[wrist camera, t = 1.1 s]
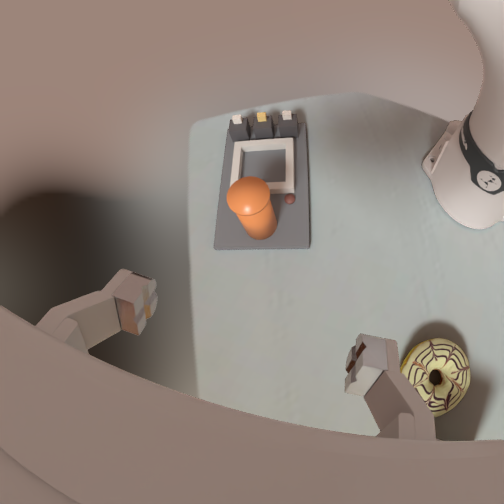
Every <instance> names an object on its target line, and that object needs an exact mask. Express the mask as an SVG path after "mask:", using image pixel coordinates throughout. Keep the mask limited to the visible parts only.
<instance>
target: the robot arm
mask: <svg viewBox="0 0 504 504" xmlns="http://www.w3.org/2000/svg"><path fill="white" fill-rule="evenodd" d="M448 1H449V3H450V5H451V7H452V8H453V10H454V12H455V13H456V15H457V16H458V17H459V18H460V20H461V21H462V22H463V23H464V25H465V26H466V27H467V28H468V30H469V32H470V33H471V34H472V36H473V38H474V40H475V42H476V44H477V46H478V49H479V51H480V55H481V58H482V63H483V81H482V86H481V90H480V93H479V96H478V99H477V102H476V105H475V107H474V110H473V111H472V112H470V113H469V114H468V115H466V116H465V118H464V119H463V121H457V120H454V121H450V123H449V125H448V127H447V129H446V131H445V132H444V134H443V135H442V137H441V138H440V139H439V141H438V142H437V143H436V145H435V146H434V147H433V149H432V150H431V151H430V153H429V154H428V155H427V157H426V158H425V159H424V161H423V163H422V168H423V170H424V171H425V173H426V174H427V176H428V177H429V178H430V180H431V182H432V186H433V189H434V193H435V195H436V197H437V199H438V201H439V203H440V205H441V206H442V208H443V209H444V210H445V211H446V212H447V213H448V214H449V215H450V216H451V217H452V218H453V219H454V220H456V221H457V222H458V223H460V224H462V225H464V226H466V227H469V228H473V229H485V228H489V227H491V226H492V225H494V224H495V223H497V222H499V221H504V0H448ZM431 161H433V162H431ZM155 288H156V280H154V279H152V278H149V277H146V276H144V275H141V274H138V273H135V272H131V271H128V270H125V269H121V270H120V271H118V273H117V274H116V275H115V276H114V277H113V278H112V279H111V281H110V282H109V283H108V284H107V285H106V286H105V287H104V289H102V291H101V292H100V291H96V292H93V293H91V294H88V295H85V296H82V297H80V298H77V299H74V300H72V301H69V302H67V303H64V304H61V305H59V306H56V307H53V308H51V309H50V311H49V312H48V313H47V314H46V315H45V316H44V317H43V318H42V320H41V321H40V322H39V323H38V324H37V325H36V326H34V325H32V324H30V323H29V322H27V321H25V320H23V319H22V318H20V317H18V316H17V315H15V314H13V313H12V312H10V311H9V310H7V309H6V308H4V307H2V306H1V305H0V504H504V440H477V441H436V434H435V422H434V415H433V413H432V412H431V410H430V409H429V408H428V406H427V405H426V403H425V402H424V401H423V399H422V398H421V397H420V395H419V394H418V392H417V391H416V390H415V388H414V387H413V386H412V384H411V383H410V381H409V380H408V379H407V377H406V376H405V375H404V374H403V373H400V364H399V355H398V347H397V342H396V340H391V339H386V338H381V337H376V336H371V335H366V334H359V335H358V337H357V339H356V345H355V346H353V347H352V348H351V350H350V352H349V354H348V357H347V361H346V371H347V373H348V375H347V377H346V378H345V393H349V394H354V395H359V396H364V399H365V401H366V403H367V405H368V407H369V409H370V411H371V413H372V415H373V417H374V419H375V421H376V423H377V425H378V427H379V429H380V431H381V432H380V433H379V434H378V435H377V436H375V437H374V436H365V435H357V434H350V433H343V432H336V431H330V430H324V429H318V428H313V427H307V426H302V425H297V424H292V423H288V422H283V421H279V420H274V419H270V418H266V417H262V416H258V415H254V414H250V413H246V412H242V411H239V410H235V409H231V408H228V407H225V406H221V405H218V404H214V403H211V402H208V401H205V400H202V399H199V398H196V397H192V396H190V395H186V394H184V393H181V392H178V391H175V390H172V389H170V388H167V387H164V386H161V385H159V384H156V383H154V382H151V381H148V380H146V379H143V378H141V377H138V376H136V375H133V374H131V373H129V372H126V371H124V370H122V369H119V368H117V367H115V366H112V365H110V364H108V363H106V362H104V361H101V360H99V359H97V358H95V357H93V356H91V355H89V353H88V350H87V349H89V348H91V347H92V346H94V345H96V344H98V343H100V342H101V341H103V340H105V339H106V338H108V337H110V336H112V335H113V334H115V333H117V332H119V331H120V330H121V329H122V330H125V331H128V332H130V333H133V334H136V335H140V333H141V332H142V330H143V329H144V327H145V326H146V319H147V318H150V317H151V316H152V314H153V313H154V311H155V309H156V306H157V295H156V293H155V292H154V290H155Z"/></svg>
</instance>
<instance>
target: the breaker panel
mask: <svg viewBox="0 0 504 504" xmlns="http://www.w3.org/2000/svg"><path fill="white" fill-rule="evenodd" d="M248 176H253V177H258V178H260V179H262V180H263V181H265V182H266V184H267V185H268V187H269V190H270V201H271V204H272V207H273V210H274V214H275V217H276V220H277V228H276V230H275V232H274V233H273V235H271V236H270V237H269V238H267V239H263V240H256V239H253V238H251V237H250V236H249V235H248V234H247V232H246V231H245V229H244V227H243V225H242V223H241V222H240V220H239V218H238V216H237V215H236V213H234V212H233V211H232V210H231V209H230V207H229V206H228V203H227V192H228V190H229V188H230V186H231V185H232V184H233V183H234V182H235V181H237V180H239V179H241V178H243V177H248ZM214 249H215V250H244V249H309V195H308V166H307V143H306V126H305V123H298V122H297V115H296V114H291V110H290V111H282V115H279V123H278V124H277V125H274V124H273V120H272V116H266V112H263V113H257V117H254V124H253V126H251V127H250V125H249V122H248V119H247V118H242V116H241V115H233V118H232V120H230V124H229V129H228V130H227V138H226V145H225V153H224V161H223V169H222V177H221V185H220V194H219V202H218V211H217V220H216V230H215V239H214Z"/></svg>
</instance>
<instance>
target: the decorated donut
mask: <svg viewBox="0 0 504 504" xmlns="http://www.w3.org/2000/svg"><path fill="white" fill-rule="evenodd" d="M432 370H438V371H439V373H440V375H441V380H440V382H439V384H438V385H435V386H434V385H433V384H432V383H430V381H429V375H430V372H431V371H432ZM400 373H403V374H404V375H405V376H406V377H407V379H408V380H409V381H410V383H411V384H412V386H413V387H414V388H415V390H416V391H417V392H418V394H419V395H420V397H421V398H422V399H423V401H424V402H425V403H426V405H427V406H428V408H429V409H430V410H431V412H432V413H433V415H434V417H438V416H441V415H443V414H445V413H447V412H448V411H450V410H451V409H453V408H454V407H455V406H456V405H457V404H458V403H459V402H460V401H461V399H462V398H463V397H464V395H465V393H466V392H467V389H468V387H469V385H470V367H469V362H468V359H467V357H466V355H465V353H464V352H463V351H462V349H461V348H460V347H459V346H458V345H457V344H455V343H453V342H451V341H450V340H447V339H442V338H434V339H430V340H426V341H424V342H422V343H419V344H418V345H416V346H415V347H414V348H412V350H411V351H410V352H409V353H408V355H407V357H406V358H405V359H404V361H403V364H402V366H401V367H400Z"/></svg>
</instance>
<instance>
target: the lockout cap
mask: <svg viewBox="0 0 504 504" xmlns="http://www.w3.org/2000/svg"><path fill="white" fill-rule="evenodd" d="M227 203H228V206H229V207H230V209H231V210H232V211H233V212H234V213H236V215H237V216H238V218H239V220H240V222H241V223H242V225H243V227H244V229H245V231H246V232H247V234H248V235H249V236H250V237H251V238H253V239H256V240H263V239H267V238H269V237H270V236H271V235H273V233H274V232H275V230H276V228H277V220H276V217H275V214H274V210H273V207H272V204H271V201H270V190H269V187H268V185H267V184H266V182H265V181H263V180H262V179H260V178H258V177H253V176H248V177H243V178H241V179H239V180H237V181H235V182H234V183H233V184H232V185H231V186H230V188H229V190H228V192H227Z"/></svg>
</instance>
